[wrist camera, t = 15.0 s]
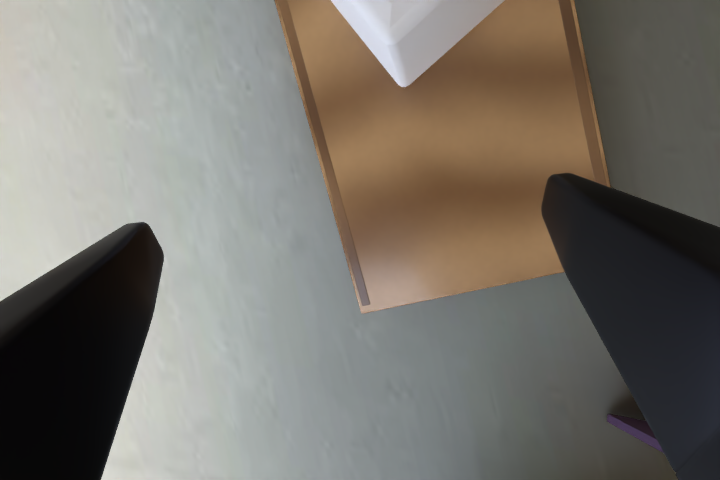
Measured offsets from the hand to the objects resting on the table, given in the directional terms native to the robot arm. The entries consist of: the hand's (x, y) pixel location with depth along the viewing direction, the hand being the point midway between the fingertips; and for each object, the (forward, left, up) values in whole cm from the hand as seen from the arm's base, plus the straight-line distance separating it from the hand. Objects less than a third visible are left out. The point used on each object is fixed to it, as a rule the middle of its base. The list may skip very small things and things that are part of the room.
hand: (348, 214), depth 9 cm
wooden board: (0, -5, -12) cm, 13 cm away
